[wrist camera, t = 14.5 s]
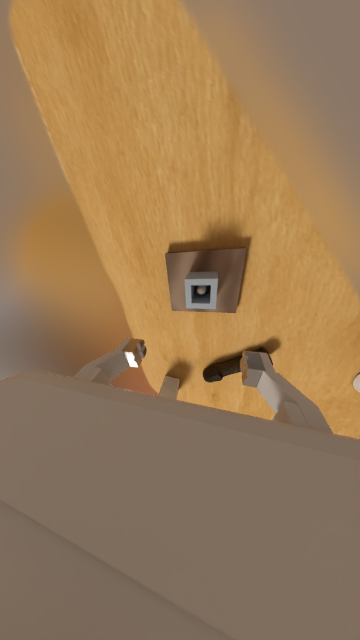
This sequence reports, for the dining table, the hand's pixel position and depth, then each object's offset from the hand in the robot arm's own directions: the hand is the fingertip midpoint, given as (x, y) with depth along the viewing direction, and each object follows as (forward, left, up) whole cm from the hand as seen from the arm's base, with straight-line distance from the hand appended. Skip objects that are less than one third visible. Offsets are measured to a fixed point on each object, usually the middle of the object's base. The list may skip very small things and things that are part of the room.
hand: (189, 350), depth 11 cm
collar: (0, 0, -18) cm, 18 cm away
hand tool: (-8, +23, -20) cm, 32 cm away
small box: (+11, +38, -20) cm, 45 cm away
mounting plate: (0, 0, -20) cm, 20 cm away
